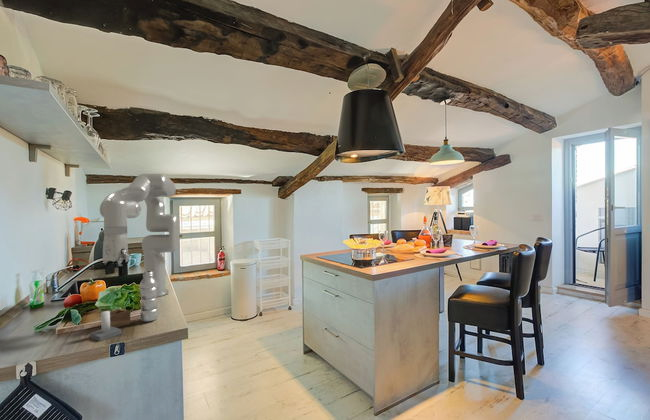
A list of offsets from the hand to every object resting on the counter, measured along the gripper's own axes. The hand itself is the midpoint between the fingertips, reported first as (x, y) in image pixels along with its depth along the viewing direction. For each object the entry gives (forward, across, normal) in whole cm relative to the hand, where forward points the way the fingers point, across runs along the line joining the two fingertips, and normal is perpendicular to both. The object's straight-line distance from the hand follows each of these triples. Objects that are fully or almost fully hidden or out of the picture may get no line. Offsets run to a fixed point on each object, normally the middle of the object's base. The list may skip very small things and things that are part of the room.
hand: (116, 275), depth 118 cm
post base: (+20, +7, -7) cm, 22 cm away
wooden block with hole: (+20, -1, 0) cm, 20 cm away
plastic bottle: (+20, +7, +9) cm, 23 cm away
